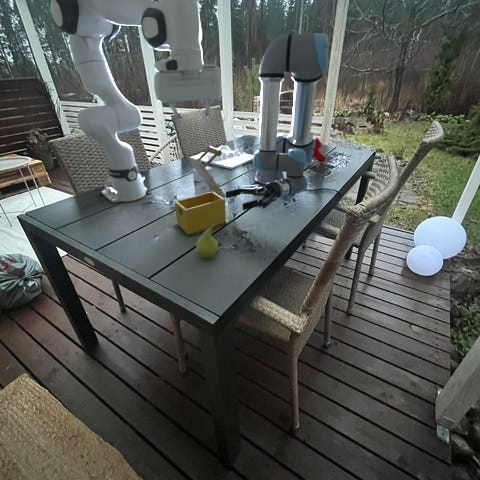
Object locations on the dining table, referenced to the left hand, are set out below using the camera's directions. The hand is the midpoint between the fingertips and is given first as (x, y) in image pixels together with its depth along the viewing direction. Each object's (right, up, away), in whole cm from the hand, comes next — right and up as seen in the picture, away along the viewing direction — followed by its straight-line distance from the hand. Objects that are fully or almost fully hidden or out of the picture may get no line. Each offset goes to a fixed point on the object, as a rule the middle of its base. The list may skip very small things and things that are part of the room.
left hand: (192, 117), depth 84 cm
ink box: (-2, -15, +48) cm, 50 cm away
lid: (+3, -16, +12) cm, 21 cm away
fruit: (+5, -43, +4) cm, 44 cm away
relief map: (+4, +16, +95) cm, 97 cm away
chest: (0, -32, +21) cm, 39 cm away
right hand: (+12, -22, +25) cm, 36 cm away
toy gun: (+58, +11, +87) cm, 105 cm away
